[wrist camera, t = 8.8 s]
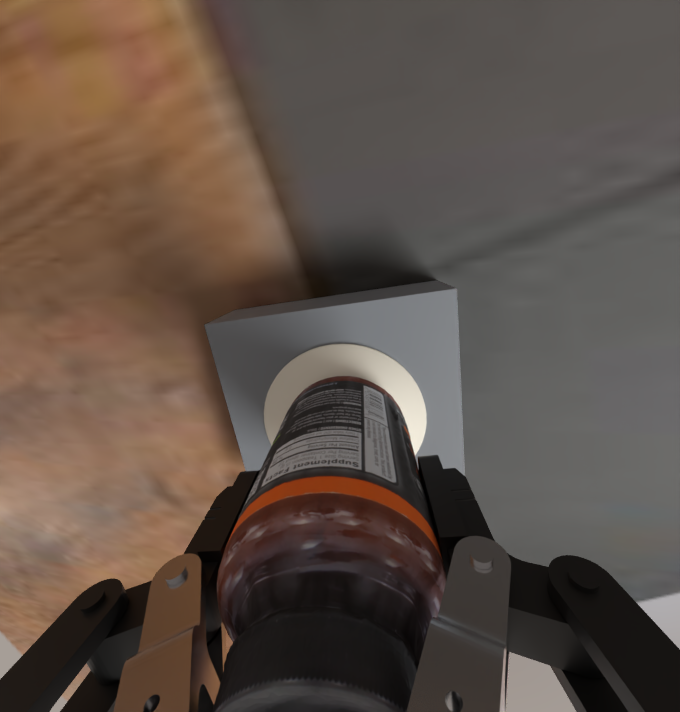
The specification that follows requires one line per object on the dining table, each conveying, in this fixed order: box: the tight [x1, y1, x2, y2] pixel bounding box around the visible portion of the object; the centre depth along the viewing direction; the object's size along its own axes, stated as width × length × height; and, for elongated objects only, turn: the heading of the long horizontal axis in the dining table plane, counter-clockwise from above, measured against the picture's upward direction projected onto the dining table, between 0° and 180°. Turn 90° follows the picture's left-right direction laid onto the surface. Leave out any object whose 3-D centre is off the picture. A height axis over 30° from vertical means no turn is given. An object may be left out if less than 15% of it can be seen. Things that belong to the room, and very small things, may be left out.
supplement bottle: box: [212, 376, 447, 712], centre depth 11 cm, size 6×6×11 cm
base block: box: [204, 280, 465, 476], centre depth 19 cm, size 12×12×4 cm
